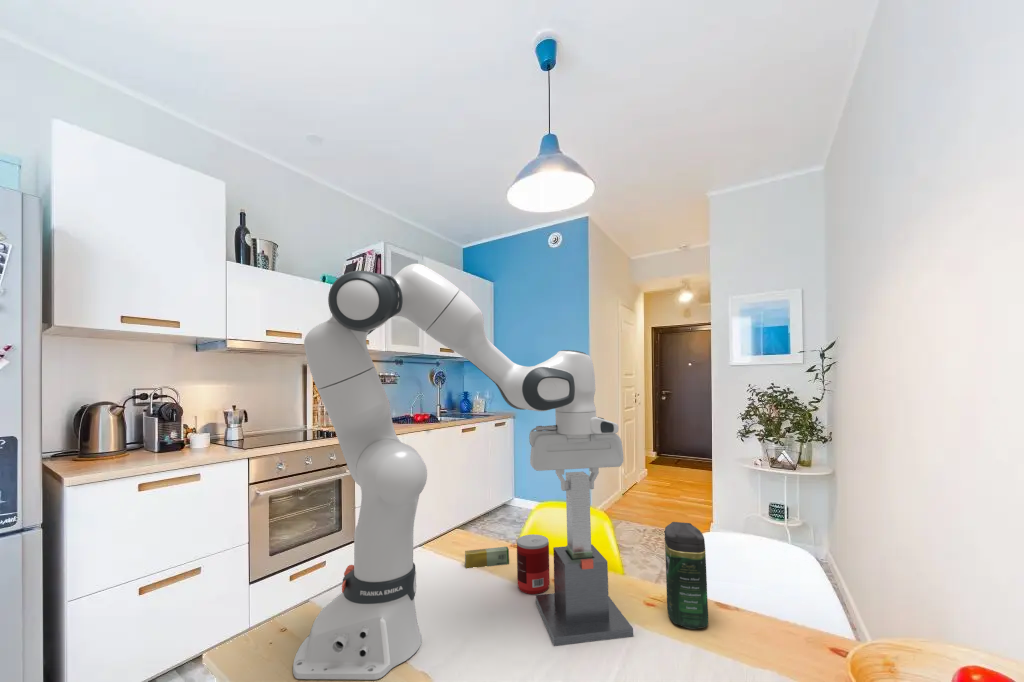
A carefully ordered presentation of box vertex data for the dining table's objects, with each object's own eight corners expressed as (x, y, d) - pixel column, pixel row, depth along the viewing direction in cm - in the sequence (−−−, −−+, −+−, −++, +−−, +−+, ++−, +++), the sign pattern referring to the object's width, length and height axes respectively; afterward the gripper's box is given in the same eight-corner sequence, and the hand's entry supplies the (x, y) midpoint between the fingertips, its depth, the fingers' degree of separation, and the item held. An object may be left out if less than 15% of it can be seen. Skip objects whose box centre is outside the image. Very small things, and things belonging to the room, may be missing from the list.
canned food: (555, 583, 105) (554, 537, 106) (539, 598, 98) (538, 548, 99) (528, 576, 109) (527, 532, 110) (511, 589, 102) (510, 542, 103)
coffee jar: (713, 633, 84) (708, 536, 86) (670, 628, 86) (666, 533, 87) (703, 607, 93) (699, 520, 95) (665, 603, 95) (661, 517, 97)
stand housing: (553, 645, 81) (552, 570, 82) (535, 602, 97) (534, 539, 98) (633, 636, 83) (630, 563, 85) (603, 595, 99) (601, 533, 100)
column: (573, 585, 88) (570, 476, 90) (567, 576, 92) (564, 472, 94) (593, 583, 89) (590, 475, 91) (586, 574, 93) (583, 471, 95)
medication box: (508, 560, 119) (507, 545, 119) (509, 564, 116) (509, 549, 117) (464, 565, 117) (464, 550, 117) (465, 569, 114) (465, 553, 114)
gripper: (532, 427, 88) (533, 496, 87) (625, 424, 92) (627, 490, 91) (526, 424, 95) (527, 488, 94) (613, 421, 98) (615, 483, 97)
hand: (577, 489), depth 92 cm, fingers closed on column, 4 cm apart
